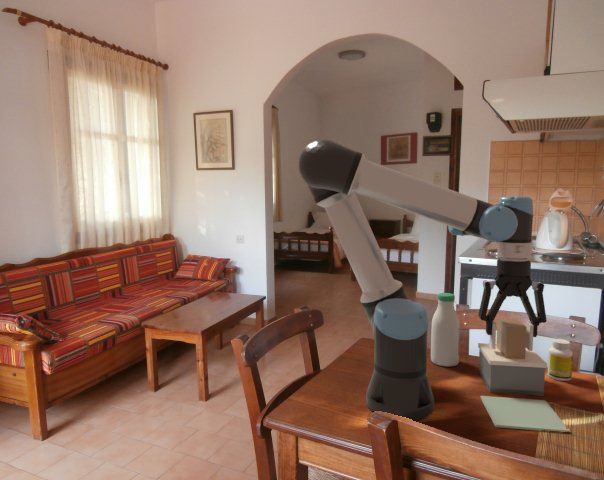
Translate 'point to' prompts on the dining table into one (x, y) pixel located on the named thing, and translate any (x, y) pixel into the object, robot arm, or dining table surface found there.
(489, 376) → the box
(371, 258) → the robot arm
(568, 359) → the supplement bottle
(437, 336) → the milk bottle
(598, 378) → the dining table surface
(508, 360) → the lid
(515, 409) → the mat
